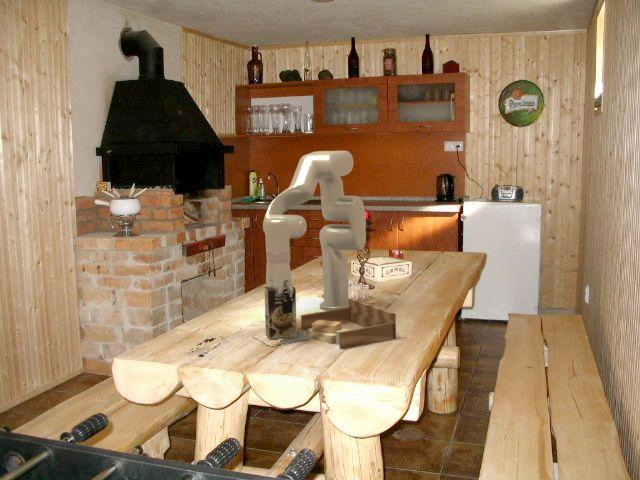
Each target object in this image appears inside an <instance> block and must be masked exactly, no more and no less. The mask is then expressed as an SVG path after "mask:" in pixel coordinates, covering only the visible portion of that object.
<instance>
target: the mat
mask: <svg viewBox="0 0 640 480" xmlns="http://www.w3.org/2000/svg"><path fill="white" fill-rule="evenodd" d="M253 335H254V336H255V335H256V334H253ZM311 339H312V338H310V337H307V335H304V334H302V333H300V332H298V331H297V337H296V338H287V339H283V340H280V343H277V344H275V345H279V346H282V345H281V344H285V345H287V344H286V343H290V344H292V343H291V342H295V343H300V341H301V342H306V341H310V340H311ZM273 345H274V344H273Z"/></svg>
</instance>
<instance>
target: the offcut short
mask: <svg viewBox="0 0 640 480" xmlns="http://www.w3.org/2000/svg"><path fill="white" fill-rule="evenodd" d="M339 330H342V324H341V322H336V321H324V320H317V321H316V322H314V323H312V332H322V333H332V334H336V331H339Z"/></svg>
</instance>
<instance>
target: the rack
mask: <svg viewBox="0 0 640 480" xmlns="http://www.w3.org/2000/svg"><path fill="white" fill-rule="evenodd" d="M396 314H397V312H396V313H395V312H392V311H390V310H386V309H383V308H380V307H378V306H375V305H372V304H369V303H366V302H363V301H360V300H357V299H354V298H349V307H348V308H342V309H336V310H326V311H317V312H313V313H306V314H301V315H300V320H301V322H300V323H301V324H300V325H301V328H300V329H301V331H307V329H310V328H312V323H314V322H316V321H317V320H324V321H336V322H341V325H342V324H347V323H353V324H355V325H357V326H360V327H359V328H354V329H348V330H347V331H342V332H339V344H338V345H339V349H340V350H343V349H348V348H349V349H350V348H354V346H355V347H359V345H360V346H363V345H364V344H365V345H369V343H370V344H373V343H379V342H384V341H388V340H394V339H397V319H396V318H397V315H396Z"/></svg>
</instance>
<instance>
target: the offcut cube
mask: <svg viewBox="0 0 640 480" xmlns="http://www.w3.org/2000/svg"><path fill="white" fill-rule="evenodd" d="M347 330H349V329H348V328H341V330H339V331H336V343H335V344H337V345H339V332H342V331H347Z"/></svg>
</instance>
